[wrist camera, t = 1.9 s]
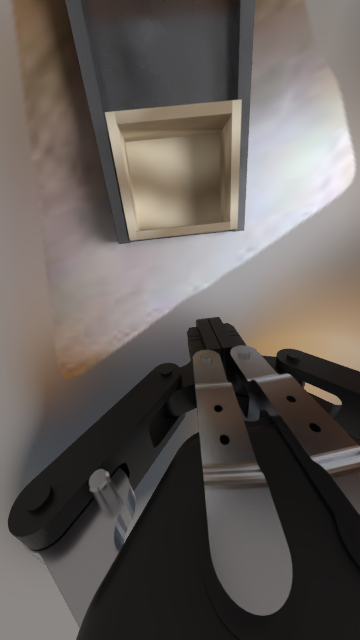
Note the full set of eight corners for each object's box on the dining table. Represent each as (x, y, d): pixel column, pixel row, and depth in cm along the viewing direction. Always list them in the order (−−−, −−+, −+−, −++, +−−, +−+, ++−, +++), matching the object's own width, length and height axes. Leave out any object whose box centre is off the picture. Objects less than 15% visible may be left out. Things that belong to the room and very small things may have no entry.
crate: (117, 135, 20) (104, 112, 16) (225, 125, 21) (241, 99, 16) (135, 237, 25) (130, 240, 21) (225, 228, 25) (237, 228, 21)
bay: (66, -24, 16) (45, -77, 14) (246, -38, 17) (263, -92, 14) (122, 242, 26) (117, 244, 23) (237, 229, 26) (246, 230, 23)
